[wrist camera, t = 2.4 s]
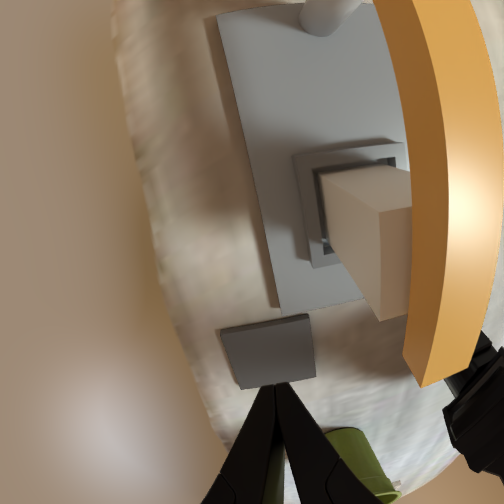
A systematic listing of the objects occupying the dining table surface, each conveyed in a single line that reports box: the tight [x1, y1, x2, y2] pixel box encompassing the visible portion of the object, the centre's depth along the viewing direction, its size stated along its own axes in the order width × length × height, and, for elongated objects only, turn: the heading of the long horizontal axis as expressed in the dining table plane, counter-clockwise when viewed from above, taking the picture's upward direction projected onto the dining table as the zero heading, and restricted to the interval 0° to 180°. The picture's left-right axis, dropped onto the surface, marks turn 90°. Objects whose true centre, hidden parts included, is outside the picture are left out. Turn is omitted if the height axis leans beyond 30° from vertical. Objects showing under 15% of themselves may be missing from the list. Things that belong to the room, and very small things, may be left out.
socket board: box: [216, 0, 410, 316], centre depth 12 cm, size 21×12×10 cm, turn 12°
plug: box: [317, 163, 412, 322], centre depth 13 cm, size 4×4×9 cm
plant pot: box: [325, 428, 402, 504], centre depth 25 cm, size 12×12×11 cm
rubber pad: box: [220, 314, 316, 390], centre depth 23 cm, size 7×7×1 cm
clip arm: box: [373, 0, 504, 388], centre depth 6 cm, size 18×3×2 cm, turn 12°
